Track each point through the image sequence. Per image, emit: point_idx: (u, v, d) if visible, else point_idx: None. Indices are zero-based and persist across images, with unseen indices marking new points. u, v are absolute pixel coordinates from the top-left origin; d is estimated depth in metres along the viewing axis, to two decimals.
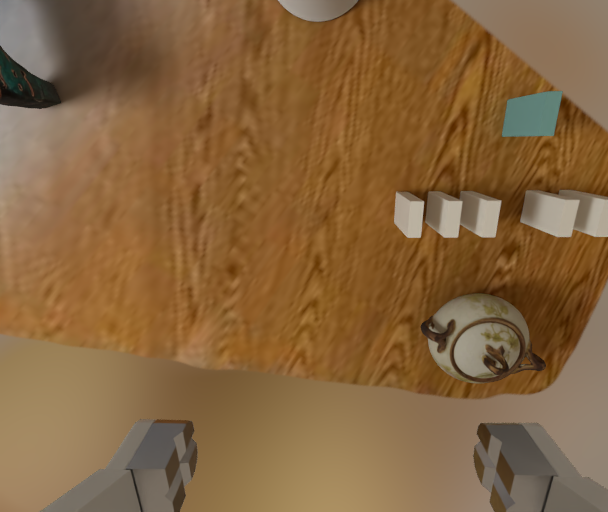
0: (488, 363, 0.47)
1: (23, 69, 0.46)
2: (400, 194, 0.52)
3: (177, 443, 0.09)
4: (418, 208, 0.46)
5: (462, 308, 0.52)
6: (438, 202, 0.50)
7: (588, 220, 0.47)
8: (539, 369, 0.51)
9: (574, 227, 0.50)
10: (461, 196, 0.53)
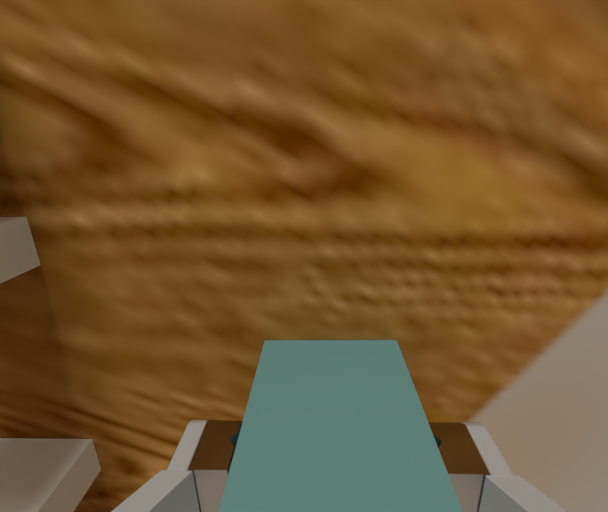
0: None
1: None
2: None
3: (232, 443, 0.09)
4: None
5: None
6: None
7: None
8: None
9: None
10: None
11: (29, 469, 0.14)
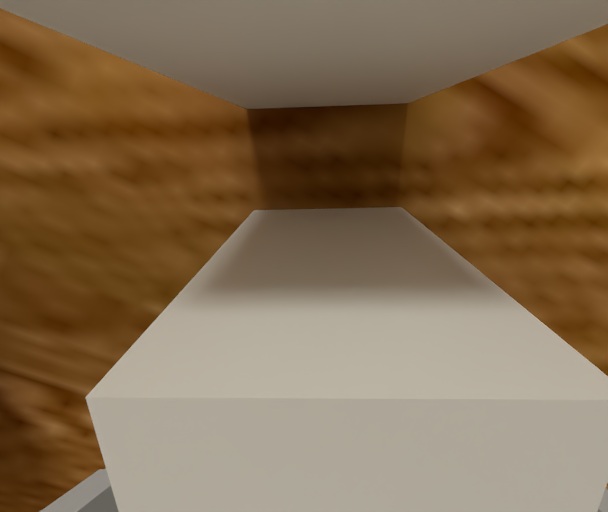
0: None
1: None
2: None
3: None
4: None
5: None
6: None
7: None
8: None
9: None
10: (381, 210, 0.11)
11: None
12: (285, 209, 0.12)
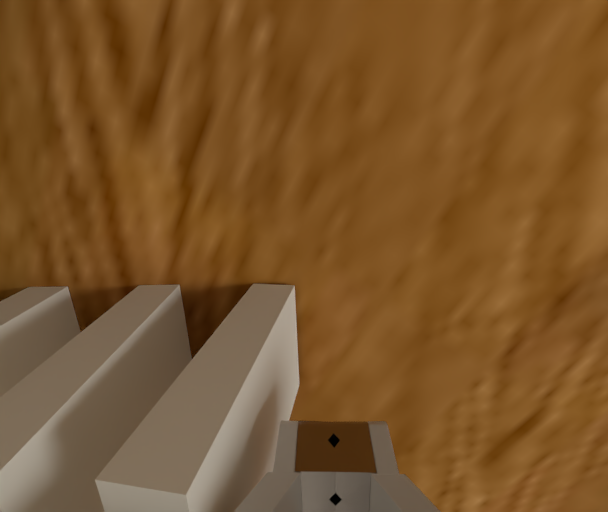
0: None
1: None
2: None
3: (328, 444, 0.09)
4: None
5: None
6: None
7: None
8: None
9: None
10: None
11: None
12: None
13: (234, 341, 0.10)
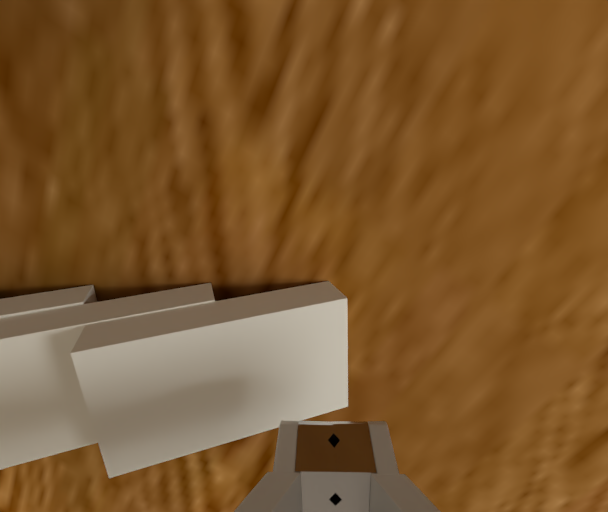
0: None
1: None
2: None
3: (328, 445, 0.09)
4: None
5: None
6: None
7: None
8: None
9: None
10: None
11: None
12: None
13: (225, 309, 0.12)
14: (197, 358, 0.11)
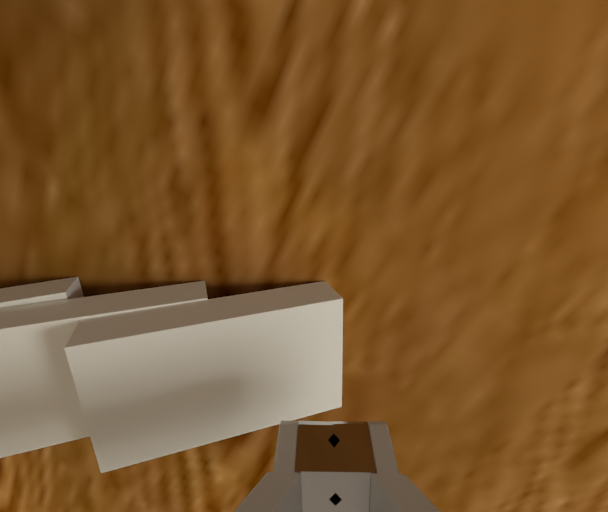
0: None
1: None
2: (275, 424, 0.14)
3: (328, 444, 0.09)
4: None
5: None
6: (82, 417, 0.13)
7: None
8: None
9: None
10: None
11: None
12: None
13: (220, 307, 0.12)
14: (191, 355, 0.11)
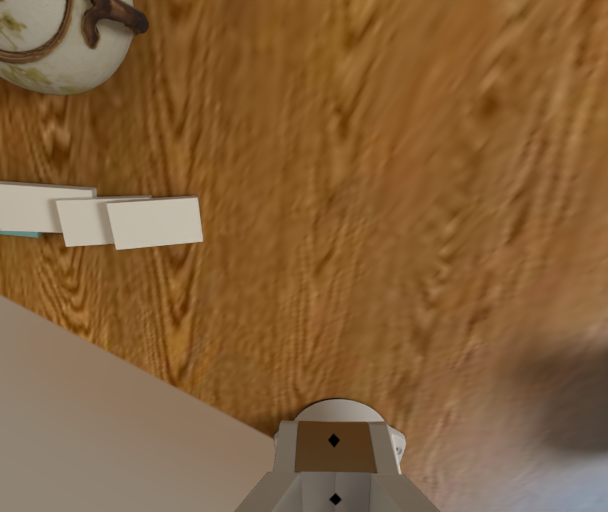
0: None
1: None
2: (176, 243, 0.38)
3: (328, 444, 0.09)
4: None
5: (84, 72, 0.28)
6: (105, 236, 0.38)
7: None
8: None
9: None
10: None
11: None
12: None
13: (155, 199, 0.37)
14: (144, 211, 0.36)
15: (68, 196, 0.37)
